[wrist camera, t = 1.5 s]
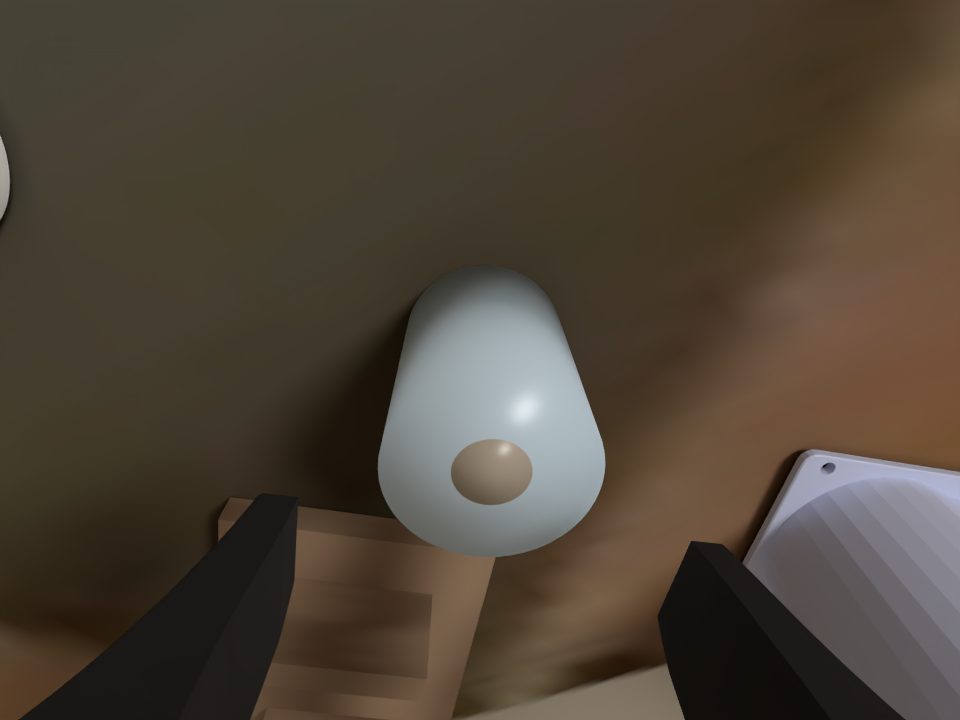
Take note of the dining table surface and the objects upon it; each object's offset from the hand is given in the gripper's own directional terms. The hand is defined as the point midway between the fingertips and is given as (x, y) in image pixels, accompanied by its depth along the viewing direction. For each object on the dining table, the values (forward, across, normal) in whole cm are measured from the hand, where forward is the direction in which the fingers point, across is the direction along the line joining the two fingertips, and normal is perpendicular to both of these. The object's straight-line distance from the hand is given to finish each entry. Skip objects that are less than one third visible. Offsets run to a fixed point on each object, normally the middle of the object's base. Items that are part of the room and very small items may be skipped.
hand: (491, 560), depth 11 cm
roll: (+10, 0, 0) cm, 10 cm away
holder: (+10, +3, +15) cm, 18 cm away
